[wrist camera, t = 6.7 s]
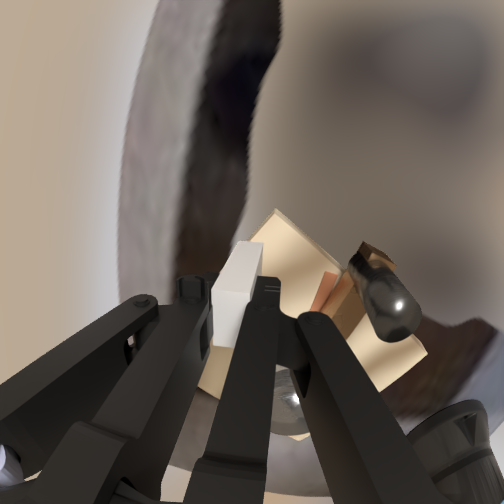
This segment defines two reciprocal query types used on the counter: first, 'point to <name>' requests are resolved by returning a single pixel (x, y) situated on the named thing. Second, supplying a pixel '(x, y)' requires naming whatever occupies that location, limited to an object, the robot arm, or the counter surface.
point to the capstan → (353, 323)
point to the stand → (313, 306)
